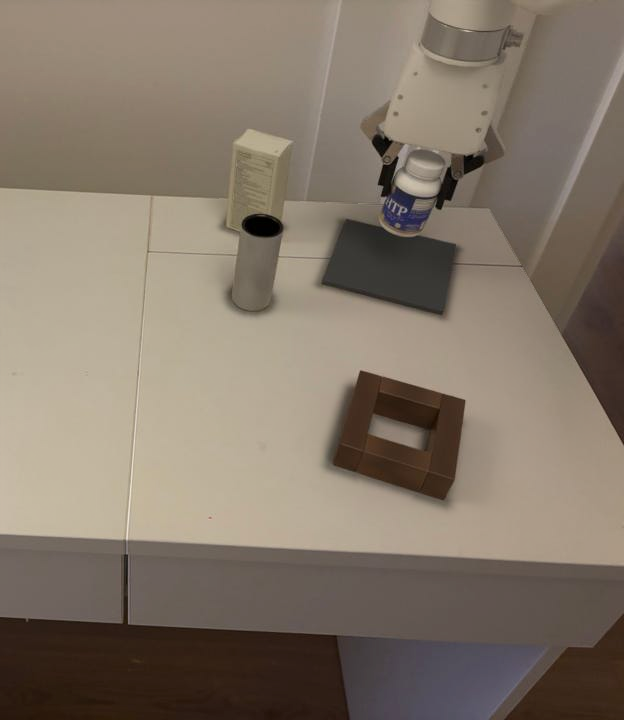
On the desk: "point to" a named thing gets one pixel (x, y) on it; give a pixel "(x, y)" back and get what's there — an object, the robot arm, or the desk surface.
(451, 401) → the holder
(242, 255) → the grey hollow tube
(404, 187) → the pill bottle
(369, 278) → the mat
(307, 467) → the desk surface
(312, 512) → the desk surface
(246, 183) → the cosmetic box
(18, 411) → the desk surface
